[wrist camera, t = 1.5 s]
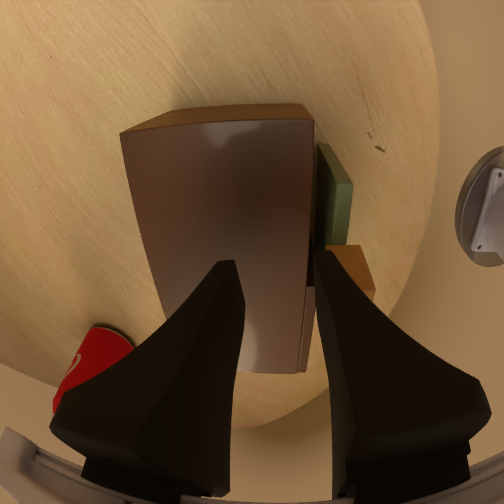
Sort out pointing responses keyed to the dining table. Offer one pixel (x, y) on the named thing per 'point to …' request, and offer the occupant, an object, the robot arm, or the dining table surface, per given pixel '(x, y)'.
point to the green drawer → (338, 218)
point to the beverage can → (93, 358)
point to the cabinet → (232, 216)
